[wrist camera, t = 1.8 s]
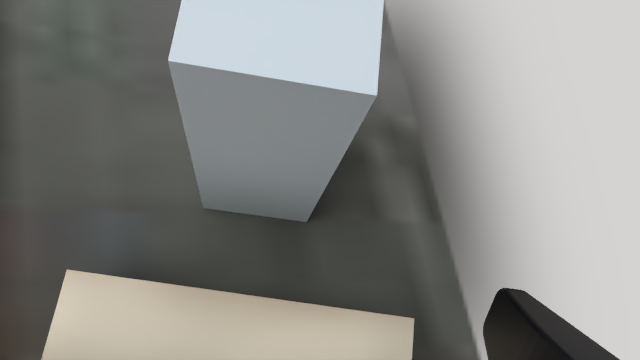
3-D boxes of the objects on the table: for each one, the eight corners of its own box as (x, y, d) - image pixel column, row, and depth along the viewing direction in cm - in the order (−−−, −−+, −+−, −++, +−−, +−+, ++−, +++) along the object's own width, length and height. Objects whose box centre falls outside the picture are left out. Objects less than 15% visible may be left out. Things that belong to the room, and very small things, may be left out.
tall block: (306, 222, 22) (376, 95, 11) (203, 208, 22) (167, 60, 11) (317, 129, 24) (388, -66, 13) (220, 113, 23) (205, -103, 12)
